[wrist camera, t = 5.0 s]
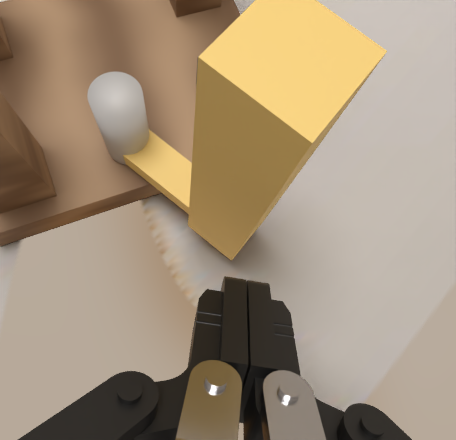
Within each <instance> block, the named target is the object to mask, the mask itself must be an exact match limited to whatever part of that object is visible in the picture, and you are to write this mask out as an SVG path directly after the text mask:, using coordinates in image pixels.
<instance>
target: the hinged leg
mask: <svg viewBox="0 0 456 440" xmlns="http://www.w3.org/2000/svg"><path fill="white" fill-rule="evenodd" d="M386 52H387V51H386V50H385V49H383V48H382V47H381V46H379V45H378V44H376V43H375V42H374V41H372V40H371V39H369V38H368V37H367V36H365V35H364V34H362V33H361V32H360V31H358V30H357V29H356V28H354V27H353V26H351V25H350V24H349V23H347V22H346V21H344V20H343V19H342V18H340V17H339V16H337V15H336V14H335V13H333V12H332V11H330V10H329V9H328V8H326V7H325V6H323V5H322V4H321V3H319V2H318V1H317V0H255V1H254V2H253V3H252V4H251V5H250V6H249V7H248V8H247V9H246V10H245V11H244V12H243V13H242V14H241V15H240V16H239V17H238V18H237V19H236V20H235V21H234V22H233V23H232V24H231V25H230V26H229V27H228V28H227V29H226V30H225V31H224V32H223V33H222V34H221V35H220V36H219V37H218V38H217V39H216V40H215V41H214V42H213V43H212V44H211V45H210V46H209V47H208V48H207V49H206V50H205V51H204V52H203V53H202V54H201V55H200V56H199V57H198V68H197V85H196V101H195V118H194V135H193V151H192V163H191V162H190V161H189V160H187V159H186V158H185V157H184V156H182V155H181V154H180V153H178V152H177V151H176V150H175V149H173V148H172V147H171V146H170V145H168V144H167V143H166V142H164V141H163V140H162V139H161V138H159V137H158V136H157V135H156V134H154V133H153V132H152V131H150V130H149V128H148V122H147V116H146V109H145V103H144V97H143V91H142V88H141V86H140V84H139V82H138V81H137V80H136V79H135V78H134V77H132V76H131V75H129V74H126V73H123V72H108V73H104V74H102V75H100V76H98V77H97V78H96V79H95V80H94V81H93V82H92V83H91V85H90V86H89V89H88V94H87V97H88V102H89V105H90V107H91V110H92V112H93V115H94V117H95V120H96V122H97V125H98V127H99V130H100V132H101V135H102V137H103V140H104V142H105V145H106V147H107V150H108V152H109V154H110V156H111V157H112V158H113V159H114V160H115V161H116V162H118V163H121V164H124V165H128V166H129V167H130V168H131V169H133V170H134V171H135V172H136V173H138V174H139V175H140V176H141V177H143V178H144V179H145V180H146V181H148V182H149V183H150V184H151V185H153V186H154V187H155V188H156V189H158V190H159V191H160V192H161V193H163V194H164V195H165V196H166V197H168V198H169V199H170V200H171V201H173V202H174V203H175V204H176V205H178V206H179V207H180V208H181V209H183V210H184V211H185V212H186V213H188V214H189V218H188V226H189V227H190V228H191V229H192V230H194V231H195V232H196V233H197V234H199V235H200V236H201V237H202V238H204V239H205V240H206V241H207V242H209V243H210V244H211V245H212V246H214V247H215V248H216V249H217V250H219V251H220V252H221V253H222V254H224V255H225V256H226V257H227V258H229V259H230V260H231V261H232V260H233V258H234V257H235V256H236V255H237V253H238V252H239V251H240V250H241V248H242V247H243V246H244V245H245V243H246V242H247V241H248V240H249V238H250V237H251V236H252V235H253V233H254V232H255V231H256V230H257V228H258V227H259V226H260V225H261V223H262V222H263V221H264V220H265V218H266V217H267V216H268V214H269V213H270V211H271V210H272V209H273V207H274V206H275V205H276V203H277V202H278V200H279V199H280V198H281V196H282V195H283V194H284V192H285V191H286V189H287V188H288V187H289V185H290V184H291V183H292V181H293V180H294V178H295V177H296V176H297V174H298V173H299V172H300V170H301V169H302V167H303V166H304V165H305V163H306V162H307V161H308V159H309V158H310V157H311V155H312V154H313V152H314V151H315V150H316V148H317V147H318V146H319V144H320V143H321V141H322V140H323V139H324V137H325V136H326V135H327V133H328V132H329V130H330V129H331V128H332V126H333V125H334V124H335V122H336V121H337V119H338V118H339V117H340V115H341V114H342V113H343V111H344V110H345V108H346V107H347V106H348V104H349V103H350V102H351V100H352V99H353V97H354V96H355V95H356V93H357V92H358V91H359V89H360V88H361V86H362V85H363V84H364V82H365V81H366V80H367V78H368V77H369V75H370V74H371V73H372V71H373V70H374V69H375V67H376V66H377V64H378V63H379V62H380V60H381V59H382V58H383V56H384V55H385V53H386Z"/></svg>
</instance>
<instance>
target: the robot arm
mask: <svg viewBox="0 0 456 440" xmlns="http://www.w3.org/2000/svg"><path fill="white" fill-rule="evenodd" d="M239 422H240V423H244V440H412V439H411V438H410V437H409V436H407V434H406V433H404V432H403V431H402V430H401V429H400V428H399V427H398V426H397V425H396V424H395V423H394V422H393V421H392V420H391V419H390V418H389V417H388V416H386V415H385V414H384V413H383V412H382V411H380V410H379V409H377V408H375V407H373V406H370V405H367V404H362V403H358V404H353V405H351V406H349V407H348V408H347V409H346V411H345V412H343V411H341V410H338V409H336V408H334V407H332V406H329V405H327V404H325V403H323V402H321V401H320V400H318V399H316V398H315V396H314V393H313V390H312V388H311V386H310V385H309V384H308V382H307V381H306V380H305V379H303V378H302V377H301V376H300V370H299V364H298V357H297V351H296V345H295V339H294V332H293V328H292V320H291V314H290V312H289V310H288V309H287V307H286V306H285V304H284V303H283V301H277V300H271V294H270V285H269V284H268V283H261V282H255V281H249V280H247V282H246V280H244V279H237V278H231V277H224V279H223V283H222V288H221V291H215V290H209V289H207V290H206V291H205V292H204V293H203V294H202V296H201V297H200V298H199V302H198V307H197V312H196V317H195V323H194V328H193V333H192V342H191V348H190V356H189V362H188V368H187V369H186V370H185V371H184V373H182V374H181V375H179V376H178V377H176V378H173V379H170V380H166V381H160V382H154V381H153V380H152V379H151V378H150V377H149V376H147V375H145V374H143V373H140V372H136V371H127V372H122V373H119V374H116V375H114V376H113V377H111V378H109V379H108V380H107V381H105V382H104V383H102V384H101V385H99V386H98V387H96V388H95V389H93V390H92V391H90V392H89V393H87V394H86V395H84V396H83V397H81V398H80V399H78V400H77V401H75V402H74V403H72V404H71V405H69V406H68V407H66V408H65V409H63V410H62V411H60V412H59V413H57V414H56V415H54V416H53V417H51V418H50V419H48V420H47V421H45V422H44V423H42V424H41V425H39V426H38V427H36V428H35V429H33V430H32V431H30V432H29V433H27V434H26V435H24V436H23V437H21V438H20V439H18V440H238V429H239Z"/></svg>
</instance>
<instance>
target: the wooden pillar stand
mask: <svg viewBox="0 0 456 440" xmlns="http://www.w3.org/2000/svg"><path fill="white" fill-rule="evenodd" d="M239 16H240V13H239V11H238V9H237V7H236V4H235V2H234V0H8V1H3V2H0V246H3V245H6V244H9V243H12V242H15V241H18V240H21V239H24V238H26V237H30V236H33V235H36V234H39V233H42V232H45V231H48V230H51V229H54V228H57V227H60V226H63V225H66V224H69V223H72V222H75V221H78V220H81V219H84V218H87V217H90V216H93V215H96V214H99V213H102V212H105V211H108V210H111V209H114V208H117V207H120V206H123V205H126V204H129V203H132V202H135V201H138V200H141V199H144V198H147V197H150V196H153V195H156V194H159V193H161V192H160V191H159V190H158V189H156V188H155V187H154V186H153V185H151V184H150V183H149V182H148V181H146V180H145V179H144V178H143V177H141V176H140V175H139V174H138V173H136V172H135V171H134V170H133V169H131V168H130V167H129V166H128V165H124V164H121V163H118V162H116V161H115V160H114V159H113V158H112V157H111V156H110V154H109V152H108V150H107V147H106V145H105V142H104V140H103V137H102V135H101V132H100V130H99V127H98V125H97V122H96V120H95V117H94V115H93V112H92V110H91V107H90V105H89V102H88V97H87V94H88V89H89V86H90V85H91V83H92V82H93V81H94V80H95V79H96V78H97V77H98V76H100V75H102V74H104V73H108V72H123V73H126V74H129V75H131V76H132V77H134V78H135V79H136V80H137V81H138V82H139V84H140V86H141V88H142V91H143V97H144V103H145V109H146V116H147V122H148V128H149V130H150V131H152V132H153V133H154V134H156V135H157V136H158V137H159V138H161V139H162V140H163V141H164V142H166V143H167V144H168V145H170V146H171V147H172V148H173V149H175V150H176V151H177V152H178V153H180V154H181V155H182V156H184V157H185V158H186V159H187V160H189V161H190V162H191V163H192V151H193V135H194V118H195V101H196V85H197V68H198V57H199V56H200V55H201V54H202V53H203V52H204V51H205V50H206V49H207V48H208V47H209V46H210V45H211V44H212V43H213V42H214V41H215V40H216V39H217V38H218V37H219V36H220V35H221V34H222V33H223V32H224V31H225V30H226V29H227V28H228V27H229V26H230V25H231V24H232V23H233V22H234V21H235V20H236V19H237V18H238V17H239Z"/></svg>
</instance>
